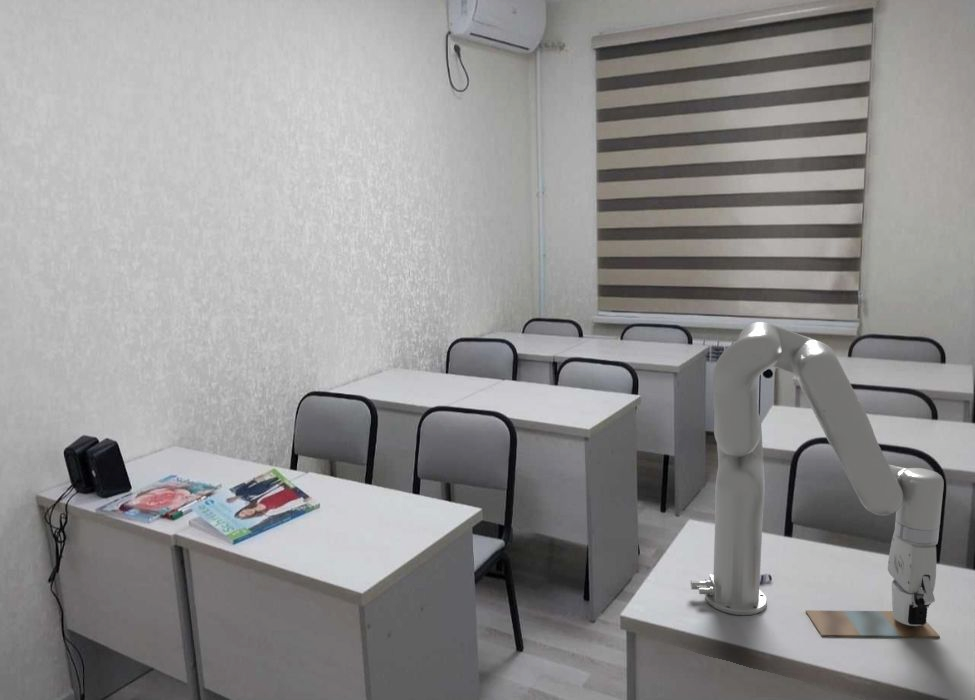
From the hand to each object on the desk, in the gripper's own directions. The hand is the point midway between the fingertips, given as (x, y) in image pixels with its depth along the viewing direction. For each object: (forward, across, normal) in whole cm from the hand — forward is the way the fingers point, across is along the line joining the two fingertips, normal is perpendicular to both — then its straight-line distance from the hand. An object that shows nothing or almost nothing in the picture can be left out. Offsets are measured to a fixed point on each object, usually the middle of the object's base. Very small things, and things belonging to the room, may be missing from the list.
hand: (908, 613), depth 151 cm
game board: (+2, 0, -7) cm, 8 cm away
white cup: (+1, 0, 0) cm, 1 cm away
